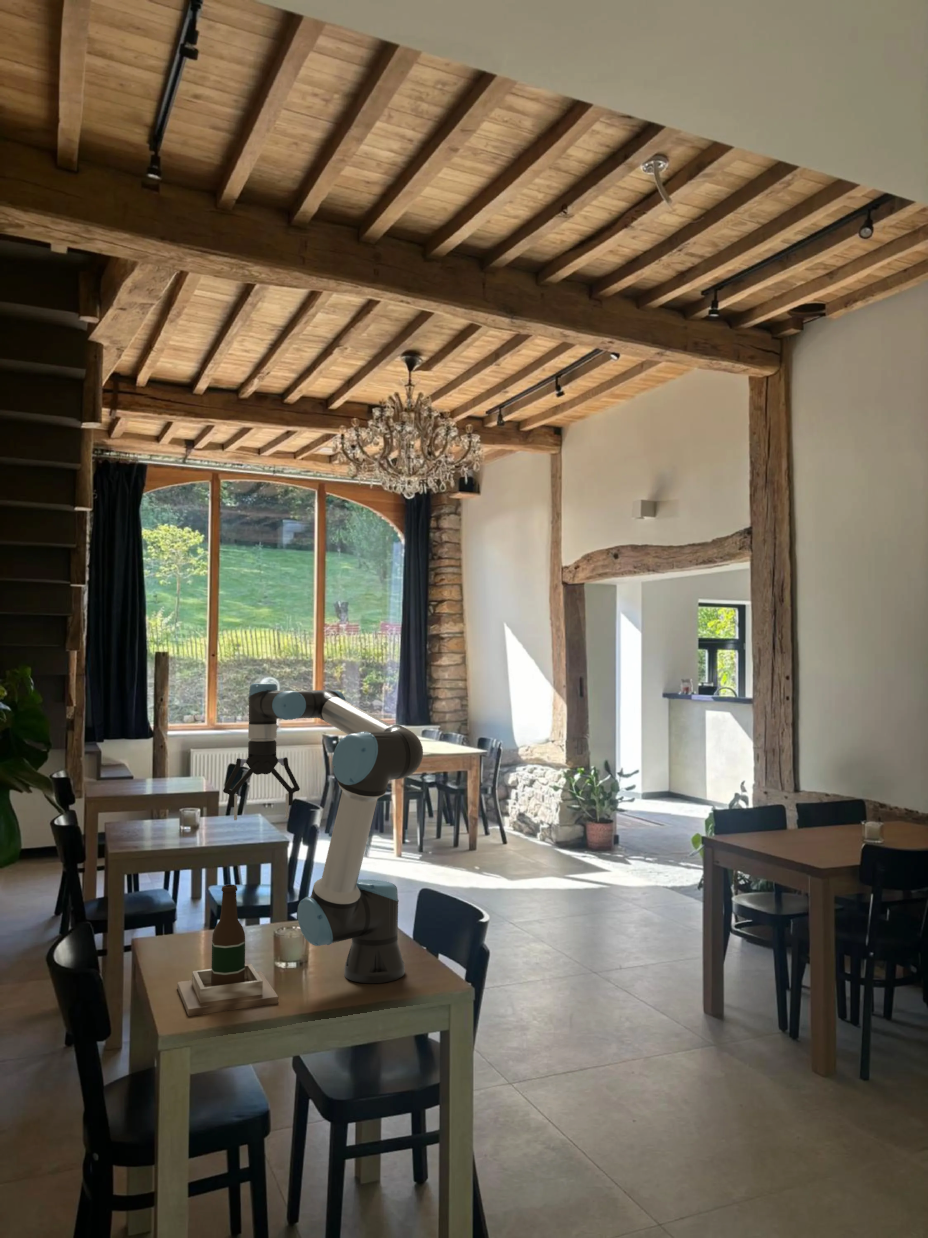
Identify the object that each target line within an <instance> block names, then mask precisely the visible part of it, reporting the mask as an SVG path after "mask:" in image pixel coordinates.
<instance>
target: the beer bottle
mask: <svg viewBox="0 0 928 1238" xmlns="http://www.w3.org/2000/svg"><path fill="white" fill-rule="evenodd" d="M221 892H222V893H221V894H222V895H221V896H222V897H221V907H220V909H221V910H220V917H219V920H218V923H217V924H216V925H215V927H214V929H213V932H212V935H211V936H212V938H211V968H210V969H211V985H212V986H219V985H226V984H234V983H241V982H245V965H246V935H245V934H246V933H245V930H244V927H243V926H242V924H241V922H240V920H239V918H238V917H239V916H238V906H237V905H238V903H237V902H238V901H237V892H238V887H237V885H236V884H231V883H230V884H225V885H223V886H222V887H221Z"/></svg>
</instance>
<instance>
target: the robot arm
mask: <svg viewBox="0 0 928 1238" xmlns="http://www.w3.org/2000/svg"><path fill="white" fill-rule="evenodd" d="M247 699H248V728H247V729H248V733H247V734H248V737H247V738H248V739H249V741H248V744H247V749H248V750H247V758H241V757H237V758H236V760H235V766H234V768H233V770H232V772H231V774H230V775H229V778H228V780H227V782H226V784H225V786H224V787H223V790H222V791H223V793H224V794H227V795H229V807H230V808H233V821H237V820H238V794H236V793H237V792H238V791H239V789H241V787H242V786H243V785H244V783H245V782H247V780H248V779H249V778H250V777H251V776H252V775H253V774H254V775H257V776H259V775H269V774H272V775H273V777H275V779H276V780H277V781H278V782H279V783H280V785H281V786H282V787H283V788H284V789H285V790H286V791H287V792H285V803H284V804H285V805H284V807H285V813H284V814H285V815H284V817H285V818H284V819H289V817H290V816H289V811H290V810H289V807H290V806H293V803H294V794H295V793H297V792H299V791H300V790H301V788H300V786H299V784H298V782H297V780H296V778H295V776H294V774H293V772H292V770H291V768H290V766H289V759H288V757H287V756H284V757H279V758H278V756H277V740H275V739H277V736H278V735H277V730H278V727H277V726H278V723H277V721H278V720H285V721H291V720H296V719H320V720H322V721H324V722H325V723H328V724H329V725H331V726H333V727H335V728H336V729H338V730H340V731H341V732H342V733H345V734H346V736H344V737H342V738H341V739H340V740H339V742H338V743H337V744H336V747H335V748H334V750H333V754H332V761H331V763H332V764H331V765H332V766H334V767H333V768H332V771H333V774H334V777H335V778H336V779H337V785H338V786H339V788H340V789H341V795H340V799H339V803H338V808H337V812H336V817H335V820H334V825H333V829H332V833H331V837H330V842H329V847H328V850H327V854H326V859H325V863H324V867H323V870H322V871H323V872H322V876H321V878H319V879H317V880H316V881H315V882H314V883H313V886H312V891H311V894H310V896H305V897H304V898H302V899H301V900H300V901H299V902H298V903H299V904H298V905H297V912H296V913H297V922H298V926H299V928H300V931H301V934H302V935H303V937H304V939H305V940H306V941H307V942H308V943H309V944H311V946H315V947H322V946H329V945H332V944H335V943H339V942H343V941H346V940H350V939H351V945H350V949H349V952H348V954H347V957H346V959H345V960H346V961H345V964H344V977H345V978H346V979H347V980H349V981H352V982H356V983H362V984H382V983H383V984H384V983H389V982H393V981H396V980H398V979H401V978H402V977H404V975H405V971H406V970H405V969H406V968H405V965H406V964H405V962H404V960H403V957H402V952H401V949H400V946H399V941H398V939H399V938H398V935H399V934H398V933H399V931H398V930H399V924H398V923H399V919H398V918H399V895H398V893H399V892H398V887H397V886H396V884H395V883H392V882H390V881H387V880H386V881H385V880H380V879H379V880H378V879H369V878H368V879H367V878H366V879H363V878H362V879H359V876H360V873H361V869H362V864H363V860H364V856H365V852H366V847H367V843H368V840H369V837H370V836H369V835H370V830H371V827H372V824H373V818H374V814H375V810H376V807H377V803H378V799H379V798H381V797H383V796H385V794H386V792H387V789H388V785H389V781H394V780H401V779H404V778H405V779H406V778H408V777H410V776H411V775H413V774H414V773H415V772H416V771H417V770H418V769H419V767H420V766H421V763H422V761H423V757H424V750H423V745H422V742H421V739H420V738H419V737H418V736H417V735H416V733H414V732H413V731H412V730H410V729H408V728H406V727H404V726H402V725H400V724H390V723H388V722H386V721H384V720H382V719H381V718H379V717H377V716H375V715H373V714H371V713H369V712H367V711H365V710H363V709H362V708H360V707H358V706H356V705H354V704H353V703H350V702H348V701H347V700H346V697H345V696H344V694H343V693H342V692H341V691H339V690H336V689H335V690H334V689H321V690H320V689H319V690H316V689H315V690H314V689H313V690H290V689H289V690H288V689H287V690H278V685H277V684H276V683H275V682H273V683H269V682H264V683H263V682H262V683H260V682H259V683H258V682H257V683H256V682H255V683H254V682H253V683H252V684H250V686H249V694H248V698H247ZM278 763H279V764H280V765H281V767H284V769H285V772H286V774H287V775H288V778H289V780H290V782H291V783H292V786H293V787H291V786H290V785H289V784H288V782H287V781H286V780H285V779H284V777H282V775H281V774H280V773H279V772H278V771H277V770H276V768H275V767H276V766H277V764H278ZM244 764H246V766H248V768H249V769H248V770H247V771H246V773H244V774H243V776H242V777H241V778H240V779H239V780H238V782H237V783H236V784H235V785H234V786H233V788H232V789H231V786H232V785H233V782H234V781H235V778H236V776H237V774H238V773H239V771H240V768H241V767H243V766H244Z"/></svg>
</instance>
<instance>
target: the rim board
mask: <svg viewBox="0 0 928 1238" xmlns="http://www.w3.org/2000/svg"><path fill="white" fill-rule="evenodd" d="M191 972H192V973H191V979H190V980H182V981H177V991H178V993H179V996H180V999H181V1001H182V1004H183V1006H184V1008H185V1011H186V1014H187V1016H188V1017H192V1016H193V1017H194V1016H198V1015H206V1014H212V1013H218V1012H219V1013H220V1012H228V1011H233V1010H240V1009H247V1008H255V1007H262V1006H268V1005H269V1006H270V1005H275V1004H279V995H278V993H276V991H275V990H274V989H273V986H271V984H270V982H269V981H268V980H267V978H266V977H265V975H264V974H263V972H262V971H261V970H260V971H259V970H258V971H256V969H255V967H254V966H253V964H252V963H249V964H245V982H241V983H234V984H226V985H219V986H212V985H211V968H209V969H200V970H193V971H191Z"/></svg>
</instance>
